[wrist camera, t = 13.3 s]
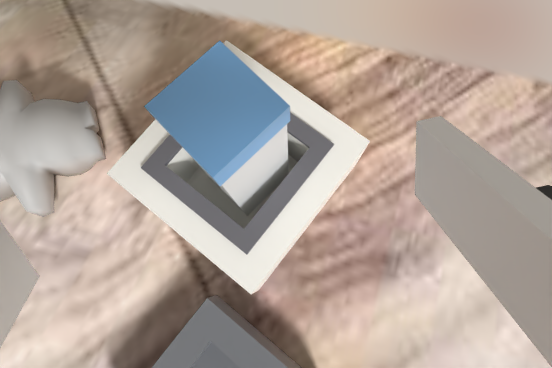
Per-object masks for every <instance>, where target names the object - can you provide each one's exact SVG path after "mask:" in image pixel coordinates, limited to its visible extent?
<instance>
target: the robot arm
mask: <svg viewBox="0 0 552 368" xmlns="http://www.w3.org/2000/svg"><path fill="white" fill-rule="evenodd" d="M415 195H416V197H417V198H418V199H419V200H420V202H421V203H422V204H423V205H424V207H425V208H426V209H427V210H428V212H429V213H430V214H431V215H432V217H433V218H434V219H435V220H436V222H437V223H438V224H439V226H440V227H441V228H442V229H443V231H444V232H445V233H446V234H447V236H448V237H449V238H450V239H451V241H452V242H453V243H454V244H455V246H456V247H457V248H458V249H459V251H460V252H461V253H462V255H463V256H464V257H465V258H466V260H467V261H468V262H469V263H470V265H471V266H472V267H473V268H474V270H475V271H476V272H477V273H478V275H479V276H480V277H481V278H482V280H483V281H484V282H485V283H486V285H487V286H488V287H489V289H490V290H491V291H492V292H493V294H494V295H495V296H496V297H497V299H498V300H499V301H500V302H501V304H502V305H503V306H504V307H505V309H506V310H507V311H508V312H509V314H510V315H511V316H512V318H513V319H514V320H515V321H516V323H517V324H518V325H519V326H520V328H521V329H522V330H523V331H524V333H525V334H526V335H527V336H528V338H529V339H530V340H531V341H532V343H533V344H534V345H535V346H536V348H537V349H538V350H539V352H540V353H541V354H542V355H543V357H544V358H545V359H546V360H547V362H548V363H549V364H550V365H551V367H552V186H550V185H546V186H542V187H537V188H535V187H534V186H532V185H531V184H530V183H529V182H527V181H526V180H525V179H523V178H522V177H521V176H519V175H518V174H517V173H515V172H514V171H513V170H511V169H510V168H509V167H507V166H506V165H505V164H503V163H502V162H501V161H500V160H498V159H497V158H496V157H494V156H493V155H492V154H490V153H489V152H488V151H486V150H485V149H484V148H482V147H481V146H480V145H478V144H477V143H476V142H474V141H473V140H472V139H470V138H469V137H468V136H467V135H465V134H464V133H463V132H461V131H460V130H459V129H457V128H456V127H455V126H453V125H452V124H451V123H449V122H448V121H447V120H445V119H444V118H443V117H441V116H439V117H434V118H430V119H425V120H420V121H417V128H416V168H415ZM38 278H39V274H38V273H37V272H36V270H35V269H34V267H33V266H32V265H31V263H30V262H29V260H28V259H27V258H26V256H25V255H24V253H23V252H22V250H21V249H20V248H19V246H18V245H17V243H16V242H15V241H14V239H13V238H12V236H11V235H10V234H9V232H8V231H7V229H6V228H5V227H4V225H3V224H2V222H1V221H0V348H1V346H2V344H3V342H4V340H5V339H6V337H7V335H8V333H9V331H10V329H11V328H12V326H13V324H14V322H15V320H16V318H17V317H18V315H19V313H20V311H21V309H22V308H23V306H24V304H25V302H26V300H27V298H28V297H29V295H30V293H31V291H32V289H33V287H34V286H35V284H36V282H37V280H38Z"/></svg>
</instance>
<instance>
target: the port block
mask: <svg viewBox="0 0 552 368" xmlns="http://www.w3.org/2000/svg"><path fill="white" fill-rule="evenodd" d="M223 44H224V45H225V46H226V47H227V48H228V49H230V50H231V51H232V52H233V53H234V54H235V55H236V56H237V57H238V58H239V59H240V60H241V61H242V62H243V63H245V64H246V65H247V66H248V67H249V68H250V69H251V70H252V71H253V72H254V73H255V74H256V75H257V76H259V77H260V78H261V79H262V80H263V81H264V82H265V83H266V84H267V85H268V86H269V87H270V88H271V89H273V90H274V91H275V92H276V93H277V94H278V95H279V96H280V97H281V98H282V99H283V100H284V101H285V102H286V103H288V104H289V105H290V122H289V123H288V124H287V136H288V166H289V174H288V175H287V176H286V177H285V179H284V180H283V181H282V182H281V184H280V185H279V186H278V187H277V188H276V189H275V190H274V191H272V192H271V193H270V194H269V195H268V196H267V197H266V198H265V199H264V200H263V201H262V202H261V203H260V204H259V205H258V206H257V207H256V208H255V209H254V210H253V211H252V212H251V213H250V214H249V215H248V216H247V215H246V214H245V213H244V212H243V211H242V210H241V209H240V208H239V207H238V206H237V205H236V204H235V203H234V202H233V201H232V200H231V199H230V198H229V197H228V196H227V195H226V194H225V193H224V192H223V191H222V190H221V189H220V188H219V186H218V185H217V184H216V183H215V182H214V181H213V180H212V179H211V178H210V177H209V176H208V175H207V174H206V173H205V172H204V170H203V169H202V168H201V167H200V166H199V165H198V164H197V162H196V161H195V160H194V159H193V158H192V157H191V156H190V155H189V154H188V153H187V152H186V150H185V149H184V148H183V147H182V146H181V145H180V144H179V143H178V142H177V141H176V140H175V139H174V138H173V137H172V136H171V135H170V134H169V133H168V132H167V131H166V130H165V129H164V128H163V127H162V126H161V125H160V124H159V123H158V122H157V120H156V119H155V120H154V121H153V122H152V124H151V125H150V126H149V127H148V128H147V129H146V130H145V131H144V132H143V134H142V135H141V136H140V137H139V138H138V139H137V140H136V141H135V143H134V144H133V145H132V146H131V147H130V148H129V149H128V150H127V151H126V153H125V154H124V155H123V156H122V157H121V158H120V159H119V160H118V161H117V163H116V164H115V165H114V166H113V167H112V168H111V169H110V170H109V172H108V173H107V174H108V175H109V176H110V177H111V178H113V179H114V180H115V181H116V182H117V183H119V184H120V185H121V186H122V187H123V188H125V189H126V190H127V191H128V192H129V193H131V194H132V195H133V196H134V197H135V198H137V199H138V200H139V201H140V202H141V203H142V204H144V205H145V206H146V207H147V208H148V209H150V210H151V211H152V212H153V213H154V214H156V215H157V216H158V217H159V218H160V219H162V220H163V221H164V222H165V223H166V224H168V225H169V226H170V227H171V228H172V229H174V230H175V231H176V232H177V233H178V234H179V235H181V236H182V237H183V238H184V239H185V240H187V241H188V242H189V243H190V244H191V245H193V246H194V247H195V248H196V249H197V250H199V251H200V252H201V253H202V254H203V255H205V256H206V257H207V258H208V259H209V260H210V261H212V262H213V263H214V264H215V265H216V266H218V267H219V268H220V269H221V270H222V271H224V272H225V273H226V274H227V275H228V276H230V277H231V278H232V279H233V280H234V281H236V282H237V283H238V284H239V285H240V286H242V287H243V288H244V289H245V290H246V291H247V292H249V293H250V294H253V293H254V292H256V291H258V290H259V289H260V288H261V287H262V285H263V284H264V283H265V281H266V280H267V279H268V277H269V276H270V275H271V274H272V272H273V271H274V270H275V268H276V267H277V266H278V265H279V263H280V262H281V261H282V259H283V258H284V257H285V256H286V254H287V253H288V252H289V250H290V249H291V248H292V246H293V245H294V244H295V243H296V241H297V240H298V239H299V237H300V236H301V235H302V234H303V232H304V231H305V230H306V228H307V227H308V226H309V224H310V223H311V222H312V221H313V219H314V218H315V217H316V215H317V214H318V213H319V212H320V210H321V209H322V208H323V206H324V205H325V204H326V203H327V201H328V200H329V199H330V197H331V196H332V195H333V193H334V192H335V191H336V190H337V188H338V187H339V186H340V184H341V183H342V182H343V181H344V179H345V178H346V177H347V175H348V174H349V173H350V172H351V170H352V169H353V168H354V166H355V165H356V164H357V162H358V160H359V159H360V157H361V155H362V154H363V152H364V150H365V149H366V147H367V145H368V144H369V142H370V141H369V140H368V139H366V138H365V137H363V136H362V135H360V134H359V133H358V132H356V131H355V130H353V129H352V128H350V127H349V126H348V125H346V124H345V123H343V122H342V121H341V120H339V119H338V118H336V117H335V116H333V115H332V114H331V113H329V112H328V111H326V110H325V109H323V108H322V107H321V106H319V105H318V104H316V103H315V102H314V101H312V100H311V99H309V98H308V97H306V96H305V95H304V94H302V93H301V92H299V91H298V90H297V89H295V88H294V87H292V86H291V85H289V84H288V83H287V82H285V81H284V80H282V79H281V78H279V77H278V76H277V75H275V74H274V73H272V72H271V71H270V70H268V69H267V68H265V67H264V66H262V65H261V64H260V63H258V62H257V61H255V60H254V59H252V58H251V57H250V56H248V55H247V54H245V53H244V52H243V51H241V50H240V49H238V48H237V47H235V46H234V45H233V44H231V43H230V42H228V41H227V40H226V41H225V42H224V43H223Z"/></svg>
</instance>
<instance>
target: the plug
mask: <svg viewBox="0 0 552 368" xmlns="http://www.w3.org/2000/svg"><path fill="white" fill-rule="evenodd" d="M144 107H145V108H146V109H147V110H148V111H149V113H150V114H151V115H152V116H153V117H154V118H155V119H156V120H157V122H158V123H159V124H160V125H161V126H162V127H163V128H164V129H165V130H166V131H167V132H168V133H169V134H170V135H171V136H172V137H173V138H174V139H175V140H176V141H177V142H178V143H179V144H180V145H181V146H182V147H183V148H184V149H185V150H186V152H187V153H188V154H189V155H190V156H191V157H192V158H193V159H194V160H195V161H196V162H197V164H198V165H199V166H200V167H201V168H202V169H203V170H204V172H205V173H206V174H207V175H208V176H209V177H210V178H211V179H212V180H213V181H214V182H215V183H216V184H217V185H218V186H219V188H220V189H221V190H222V191H223V192H224V193H225V194H226V195H227V196H228V197H229V198H230V199H231V200H232V201H233V202H234V203H235V204H236V205H237V206H238V207H239V208H240V209H241V210H242V211H243V212H244V213H245V214H246V215H247V216H248V215H249V214H250V213H251V212H252V211H253V210H254V209H255V208H256V207H257V206H258V205H259V204H260V203H261V202H262V201H263V200H264V199H265V198H266V197H267V196H268V195H269V194H270V193H271V192H272V191H274V190H275V189H276V188H277V187H278V186H279V185H280V184H281V182H282V181H283V180H284V179H285V177H286V176H287V175H288V174H289V166H288V136H287V124H288V123H289V122H290V105H289V104H288V103H286V102H285V101H284V100H283V99H282V98H281V97H280V96H279V95H278V94H277V93H276V92H275V91H274V90H273V89H271V88H270V87H269V86H268V85H267V84H266V83H265V82H264V81H263V80H262V79H261V78H260V77H259V76H257V75H256V74H255V73H254V72H253V71H252V70H251V69H250V68H249V67H248V66H247V65H246V64H245V63H243V62H242V61H241V60H240V59H239V58H238V57H237V56H236V55H235V54H234V53H233V52H232V51H231V50H230V49H228V48H227V47H226V46H225V45H224V44H223V43H222V42H221V41H219V42H217V43H216V44H215V45H214V46H213V47H212V48H211V49H209V50H208V51H207V52H206V53H205V54H204V55H203V56H201V57H200V58H199V59H198V60H197V61H196V62H194V63H193V64H192V65H191V66H190V67H189V68H188V69H186V70H185V71H184V72H183V73H182V74H181V75H180V76H178V77H177V78H176V79H175V80H174V81H173V82H172V83H170V84H169V85H168V86H167V87H166V88H165V89H163V90H162V91H161V92H160V93H159V94H158V95H157V96H155V97H154V98H153V99H152V100H151V101H150V102H149V103H147V104H146V105H145V106H144Z"/></svg>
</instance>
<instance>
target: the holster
mask: <svg viewBox="0 0 552 368" xmlns="http://www.w3.org/2000/svg"><path fill="white" fill-rule="evenodd" d="M152 368H302V367H300V366H299V365H298V364H297V363H296V362H294V361H293V360H292V359H291V358H290V357H289V356H287V355H286V354H285V353H284V352H283V351H282V350H280V349H279V348H278V347H277V346H276V345H275V344H273V343H272V342H271V341H270V340H269V339H268V338H266V337H265V336H264V335H263V334H262V333H261V332H259V331H258V330H257V329H256V328H255V327H254V326H252V325H251V324H250V323H249V322H248V321H247V320H245V319H244V318H243V317H242V316H241V315H240V314H238V313H237V312H236V311H235V310H234V309H233V308H231V307H230V306H229V305H228V304H227V303H225V302H224V301H223V300H222V299H221V298H220V297H218V296H217V295H215V296H212V297H209V298H207V299H206V300H205V301H204V303H203V304H202V305H201V306H200V308H199V309H198V310H197V311H196V313H195V314H194V315H193V316H192V318H191V319H190V320H189V321H188V323H187V324H186V325H185V326H184V328H183V329H182V330H181V332H180V333H179V334H178V335H177V337H176V338H175V339H174V340H173V342H172V343H171V344H170V345H169V347H168V348H167V349H166V350H165V352H164V353H163V354H162V355H161V357H160V358H159V359H158V360H157V362H156V363H155V364H154V365H153V367H152Z"/></svg>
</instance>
